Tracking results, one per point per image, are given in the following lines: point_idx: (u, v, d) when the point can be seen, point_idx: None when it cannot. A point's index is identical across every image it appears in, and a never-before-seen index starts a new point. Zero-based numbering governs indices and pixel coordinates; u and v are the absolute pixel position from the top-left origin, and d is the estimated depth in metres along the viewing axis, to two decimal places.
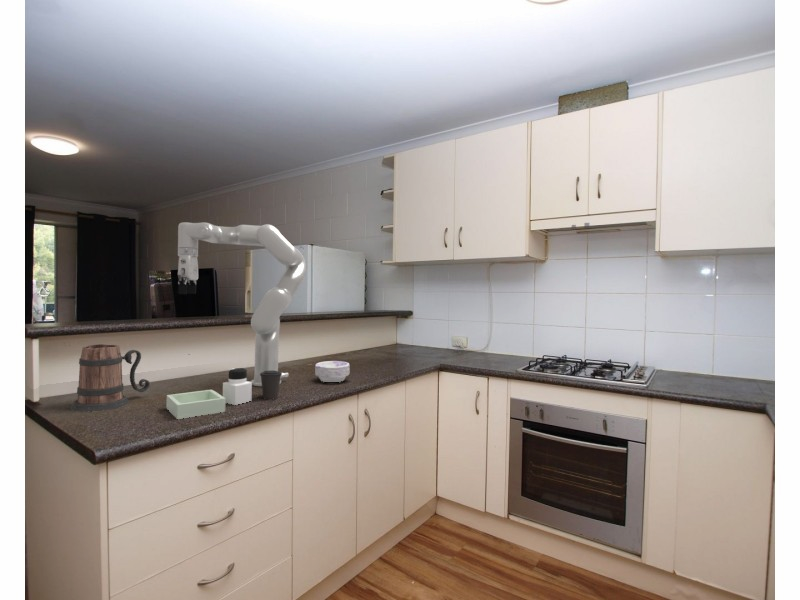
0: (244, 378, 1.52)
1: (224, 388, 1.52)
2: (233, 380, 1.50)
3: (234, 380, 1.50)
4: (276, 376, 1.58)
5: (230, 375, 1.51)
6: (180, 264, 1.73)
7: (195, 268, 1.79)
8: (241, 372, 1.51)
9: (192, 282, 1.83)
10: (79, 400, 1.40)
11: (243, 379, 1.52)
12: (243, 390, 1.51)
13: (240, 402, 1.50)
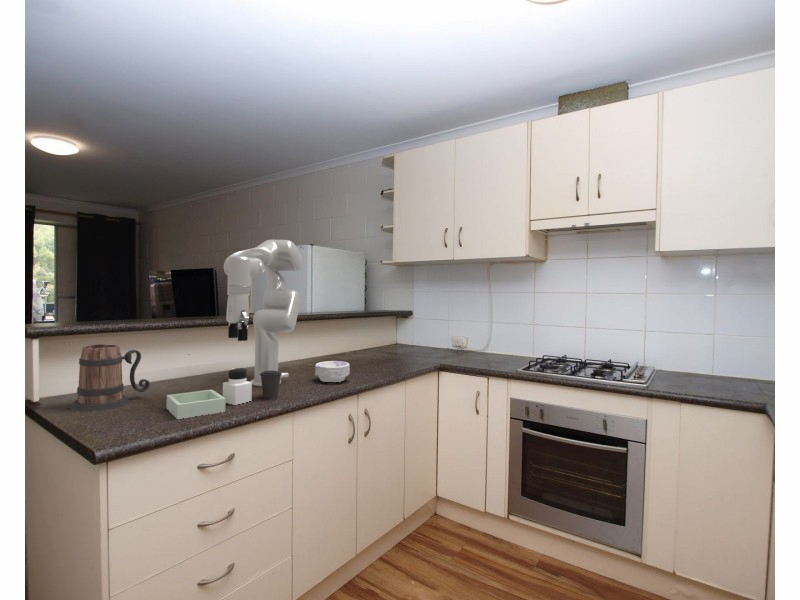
0: (244, 378, 1.52)
1: (224, 388, 1.52)
2: (233, 380, 1.50)
3: (234, 380, 1.50)
4: (276, 376, 1.58)
5: (230, 375, 1.51)
6: None
7: (231, 309, 1.50)
8: (241, 372, 1.51)
9: None
10: (79, 400, 1.40)
11: (243, 379, 1.52)
12: (243, 390, 1.51)
13: (240, 402, 1.50)
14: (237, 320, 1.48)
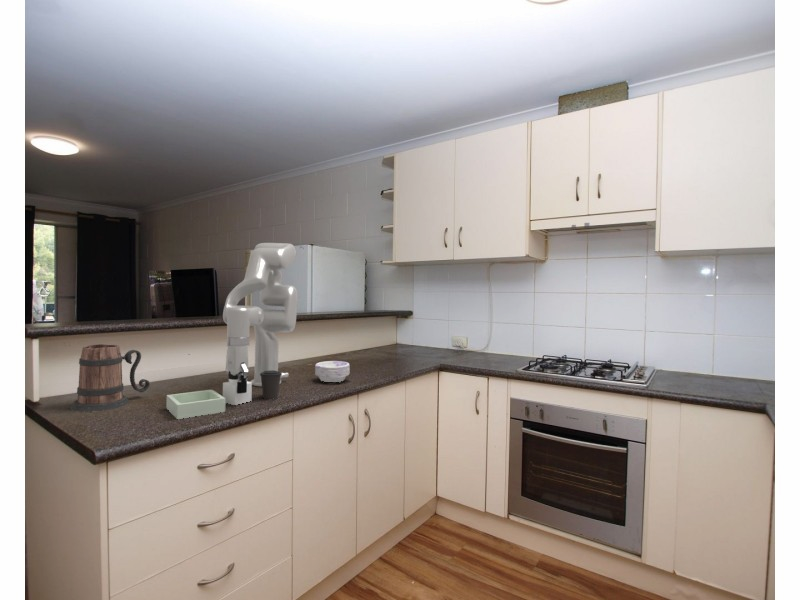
0: None
1: (224, 388, 1.52)
2: (233, 380, 1.50)
3: (234, 380, 1.50)
4: (276, 376, 1.58)
5: (230, 375, 1.51)
6: None
7: (230, 360, 1.50)
8: (241, 372, 1.51)
9: None
10: (79, 400, 1.40)
11: None
12: None
13: (240, 402, 1.50)
14: (237, 372, 1.48)
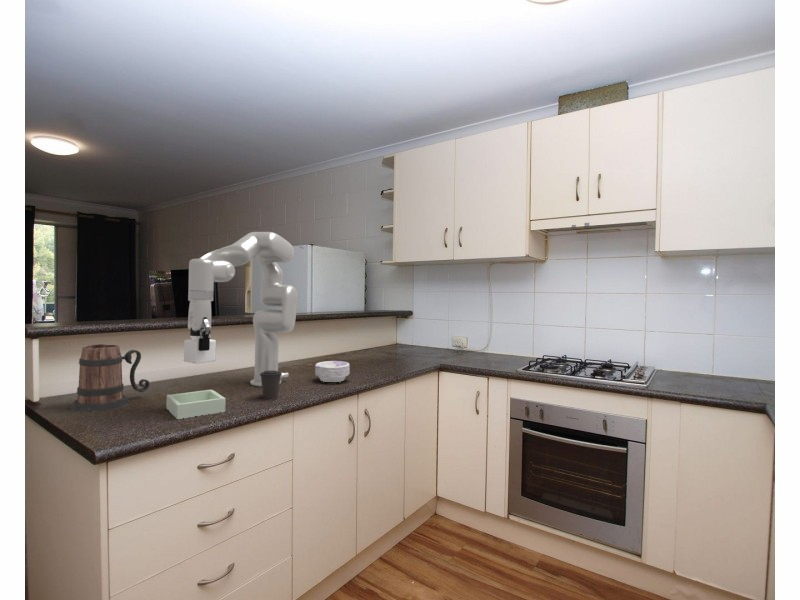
0: None
1: (185, 346, 1.41)
2: (195, 337, 1.39)
3: (196, 337, 1.39)
4: (276, 376, 1.58)
5: (191, 331, 1.40)
6: None
7: (192, 315, 1.40)
8: (203, 328, 1.40)
9: None
10: (79, 400, 1.40)
11: None
12: None
13: (202, 361, 1.39)
14: (198, 328, 1.37)
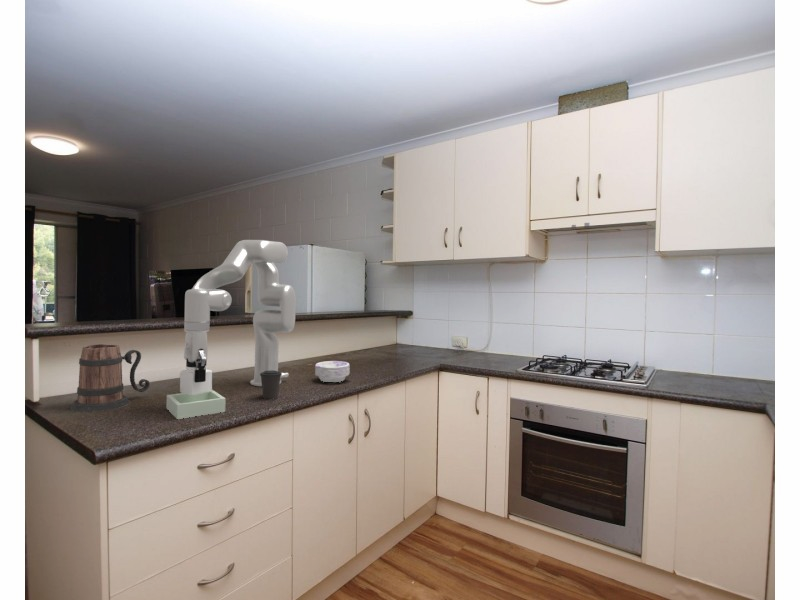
0: None
1: (181, 377, 1.40)
2: (190, 368, 1.39)
3: (192, 368, 1.39)
4: (276, 376, 1.58)
5: (187, 363, 1.39)
6: None
7: (188, 347, 1.39)
8: (199, 359, 1.40)
9: None
10: (79, 400, 1.40)
11: None
12: None
13: (198, 392, 1.39)
14: (194, 359, 1.37)
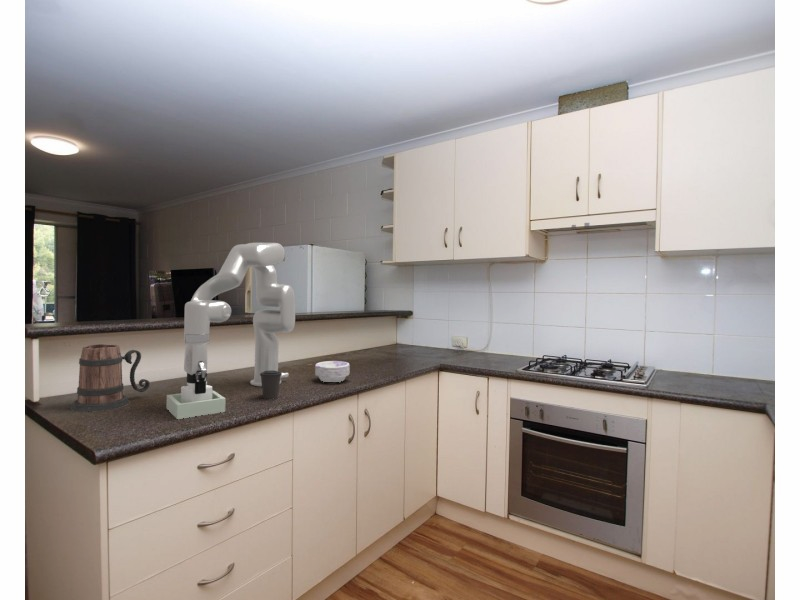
0: None
1: (182, 392, 1.41)
2: (191, 384, 1.39)
3: (192, 384, 1.39)
4: (276, 376, 1.58)
5: (188, 378, 1.40)
6: None
7: (188, 359, 1.39)
8: None
9: None
10: (79, 400, 1.40)
11: None
12: (202, 395, 1.40)
13: None
14: (194, 372, 1.37)
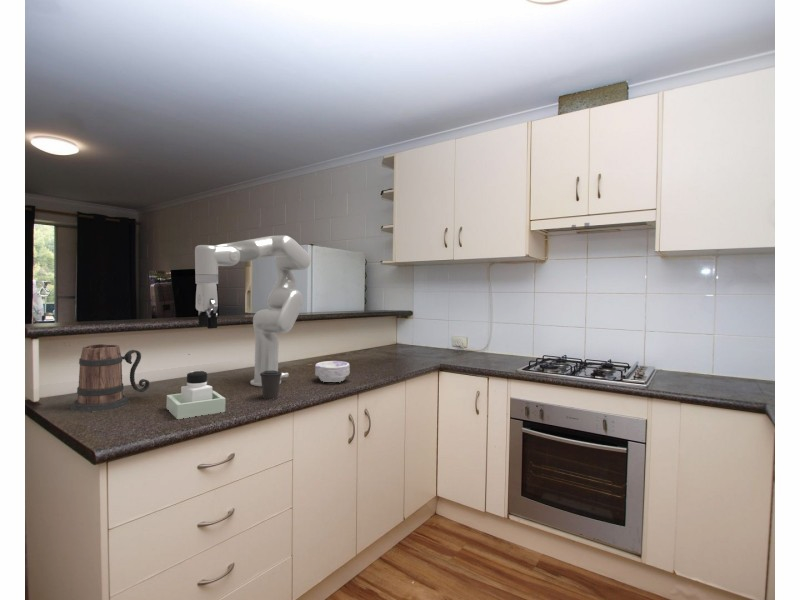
0: (203, 382, 1.41)
1: (182, 392, 1.41)
2: (191, 384, 1.39)
3: (192, 384, 1.39)
4: (276, 376, 1.58)
5: (188, 379, 1.40)
6: None
7: (199, 297, 1.53)
8: (200, 375, 1.40)
9: None
10: (79, 400, 1.40)
11: (202, 383, 1.40)
12: (202, 395, 1.40)
13: None
14: (206, 308, 1.50)
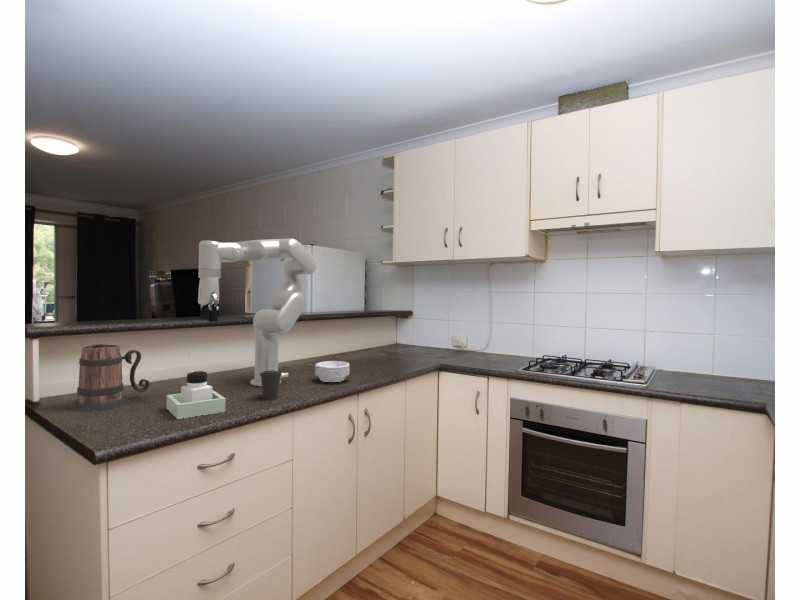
0: (203, 382, 1.41)
1: (182, 392, 1.41)
2: (191, 384, 1.39)
3: (192, 384, 1.39)
4: (276, 376, 1.58)
5: (188, 379, 1.40)
6: None
7: (202, 291, 1.57)
8: (200, 375, 1.40)
9: None
10: (79, 400, 1.40)
11: (202, 383, 1.40)
12: (202, 395, 1.40)
13: None
14: (207, 302, 1.54)
